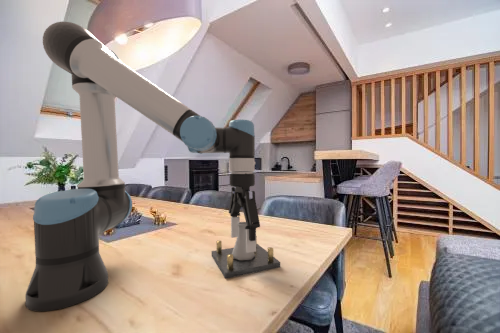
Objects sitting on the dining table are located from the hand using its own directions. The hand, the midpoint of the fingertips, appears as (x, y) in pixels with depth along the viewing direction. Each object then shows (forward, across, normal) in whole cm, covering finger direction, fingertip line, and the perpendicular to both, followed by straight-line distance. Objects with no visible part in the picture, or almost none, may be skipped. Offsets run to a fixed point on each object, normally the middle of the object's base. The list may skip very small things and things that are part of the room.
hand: (242, 243), depth 69 cm
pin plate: (+5, 0, 0) cm, 5 cm away
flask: (+4, 0, 0) cm, 4 cm away
